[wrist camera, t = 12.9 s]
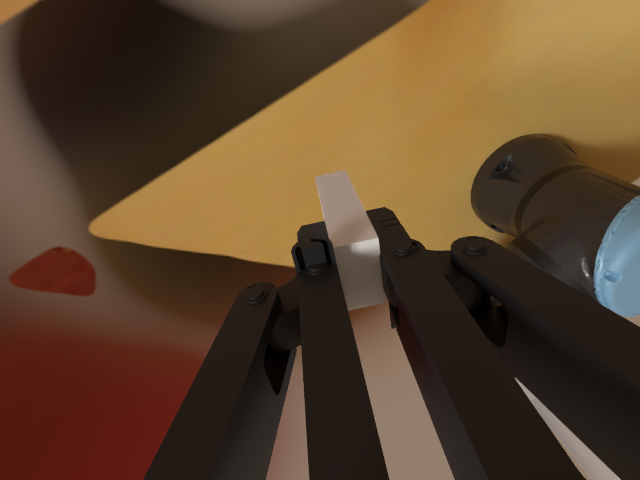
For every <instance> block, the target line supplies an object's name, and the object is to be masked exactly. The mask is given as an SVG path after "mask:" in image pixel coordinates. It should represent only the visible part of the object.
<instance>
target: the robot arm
mask: <svg viewBox="0 0 640 480" xmlns="http://www.w3.org/2000/svg"><path fill="white" fill-rule="evenodd" d="M315 179H316V184H317V189H318V193H319V198H320V203H321V207H322V212H323V217H324V221H322V222H318V223H313V224H308V225H304V226H301V228H300V229H299V231H298V233H297V237H298V242H297V243H296V244H295V245H294V246H293V247H292V250H291V254H292V257H293V260H294V264H295V267H296V271H297V275H296V277H295V278H294V279H293V280H291V281H290V282H288V283H286V284H285V285H282V286H280V287H278V288H276V287H275V285H274V284H272V283H270V282H259V283H254V284H252V285H250V286H247V287H246V288H245V289H243V290H242V291H241V292H240V293H239V294H238V296H237V297H236V299H235V301H234V303H233V305H232V307H231V309H230V311H229V313H228V315H227V317H226V319H225V321H224V323H223V325H222V326H221V328H220V330H219V332H218V334H217V336H216V338H215V340H214V342H213V344H212V346H211V348H210V350H209V352H208V354H207V356H206V358H205V360H204V362H203V364H202V366H201V368H200V369H199V372H198V373H197V375H196V377H195V379H194V381H193V383H192V385H191V387H190V389H189V391H188V393H187V395H186V397H185V399H184V401H183V403H182V405H181V407H180V409H179V411H178V412H177V415H176V416H175V418H174V420H173V422H172V424H171V426H170V428H169V430H168V432H167V434H166V436H165V438H164V440H163V442H162V444H161V446H160V448H159V450H158V452H157V454H156V456H155V457H154V460H153V462H152V463H151V465H150V467H149V470H148V471H147V473H146V475H145V477H144V479H143V480H265V479H266V476H267V471H268V467H269V463H270V459H271V455H272V451H273V447H274V443H275V438H276V434H277V430H278V426H279V422H280V418H281V414H282V410H283V405H284V401H285V397H286V393H287V389H288V385H289V381H290V376H291V372H292V368H293V364H294V360H295V356H296V347H297V346H299V345H301V347H302V364H303V381H304V398H305V413H306V431H307V445H308V446H307V448H308V464H309V480H389V476H388V472H387V468H386V464H385V460H384V456H383V452H382V448H381V444H380V439H379V436H378V431H377V428H376V423H375V419H374V415H373V411H372V407H371V403H370V398H369V394H368V390H367V386H366V382H365V378H364V374H363V370H362V366H361V362H360V358H359V354H358V349H357V345H356V342H355V337H354V333H353V329H352V325H351V321H350V317H349V313H348V311H349V310H353V309H358V308H362V307H367V306H372V305H377V304H381V303H385V302H386V297H385V294H386V296H387V299H388V301H389V309H390V319H391V327H392V329H393V328H395V327H396V330H397V332H398V335H399V337H400V340H401V343H402V345H403V348H404V350H405V353H406V355H407V358H408V361H409V363H410V366H411V368H412V371H413V374H414V376H415V378H416V381H417V384H418V386H419V389H420V391H421V394H422V397H423V399H424V402H425V404H426V407H427V409H428V412H429V414H430V417H431V420H432V422H433V425H434V427H435V430H436V432H437V435H438V438H439V440H440V443H441V445H442V448H443V450H444V453H445V456H446V458H447V461H448V463H449V466H450V468H451V471H452V474H453V476H454V479H455V480H586V479H585V478H584V477H583V476H582V474H581V473H580V472H579V471H578V469H577V468H576V467H575V465H574V463H573V462H572V461H571V459H570V458H569V456H568V455H567V453H566V452H565V451H564V449H563V447H562V446H561V445H560V443H559V442H558V440H557V439H556V437H555V436H554V434H553V433H552V432H551V430H550V429H549V427H548V426H547V424H546V423H545V421H546V422H547V423H548V425H549V426H550V427H551V429H552V430H553V431H554V432H555V434H556V435H557V436H558V438H559V439H560V440H561V441H562V443H563V444H564V445H565V446H566V448H567V449H568V450H569V452H570V453H571V454H572V455H573V457H574V458H575V459H576V461H577V462H578V463H579V464H580V466H581V467H582V468H583V469H584V471H585V472H586V473H587V475H588V476H589V477H590V478H591V480H640V327H639V326H637V325H635V324H634V323H632V322H630V321H628V320H627V319H625V318H623V317H622V316H626V317H634V316H638V315H640V187H639V186H636V185H634V184H631V183H629V182H626V181H623V180H621V179H618V178H616V177H613V176H611V175H608V174H605V173H603V172H600V171H597V170H595V169H592V168H590V167H588V166H587V165H586V164H585V163H583V162H582V161H581V160H580V159H579V158H578V157H577V155H576V153H575V152H574V151H573V150H572V148H571V147H570V146H568V145H567V144H566V143H564V142H562V141H560V140H558V139H555V138H552V137H549V136H546V135H539V134H534V135H526V136H522V137H519V138H516V139H514V140H512V141H509V142H508V143H506V144H504V145H503V146H501V147H500V148H498V149H497V150H496V151H495V152H494V153H492V154H491V155H490V156H489V157H488V159H487V160H486V161H485V162H484V163H483V165H482V166H481V168H480V169H479V171H478V173H477V175H476V177H475V179H474V182H473V185H472V190H471V203H472V208H473V210H474V212H475V214H476V215H477V217H478V218H479V219H480V220H481V221H482V222H483V223H485V224H486V225H487V226H488V227H490V228H491V229H493V230H495V231H497V232H500V233H504V234H507V235H511V236H514V237H517V238H516V239H514V240H513V241H512V242H510V243H509V244H508V245H506V246H505V247H502V246H500V245H499V244H497V243H495V242H494V241H492V240H489V239H487V238H484V237H478V236H467V237H463V238H459V239H457V240H456V241H454V242H453V243H452V245H451V251H433V250H426V249H425V247H424V246H423V245H422V244H421V243H420V242H419V241H416V240H413V239H411V238H410V237H409V235H408V234H407V232H406V231H405V229H404V228H403V226H402V225H401V224H400V222H399V220H398V219H397V217H396V215H395V214H394V212H393V211H391V210H389V209H387V208H385V207H382V208H378V209H373V210H369V211H365V209H364V207H363V205H362V203H361V201H360V199H359V197H358V195H357V193H356V191H355V189H354V187H353V185H352V183H351V181H350V179H349V177H348V175H347V173H346V171H345V170H343V171H339V172H334V173H330V174H325V175H320V176H316V177H315ZM536 409H537V410H536ZM538 412H539V413H540V414H539V413H538ZM540 415H541V416H542V417H543V418H544V420H545V421H544V420H543V418H542V417H541V416H540Z"/></svg>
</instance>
